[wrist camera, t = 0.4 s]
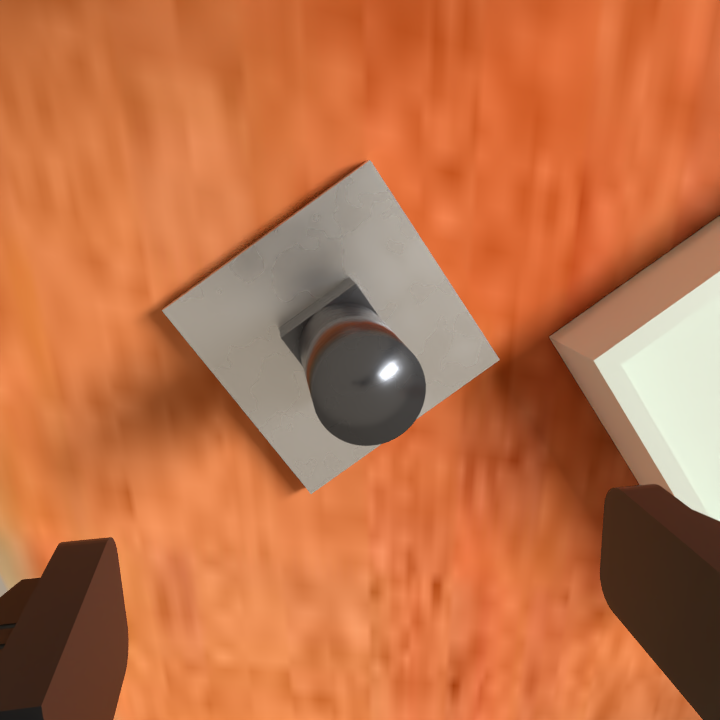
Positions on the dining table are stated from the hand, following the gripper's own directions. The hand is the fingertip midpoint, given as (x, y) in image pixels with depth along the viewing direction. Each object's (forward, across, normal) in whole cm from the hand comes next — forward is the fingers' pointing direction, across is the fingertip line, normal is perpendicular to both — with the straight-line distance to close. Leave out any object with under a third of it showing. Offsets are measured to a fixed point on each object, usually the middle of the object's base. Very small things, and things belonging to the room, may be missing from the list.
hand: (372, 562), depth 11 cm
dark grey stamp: (+23, -2, +2) cm, 23 cm away
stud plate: (+24, -2, +2) cm, 24 cm away
